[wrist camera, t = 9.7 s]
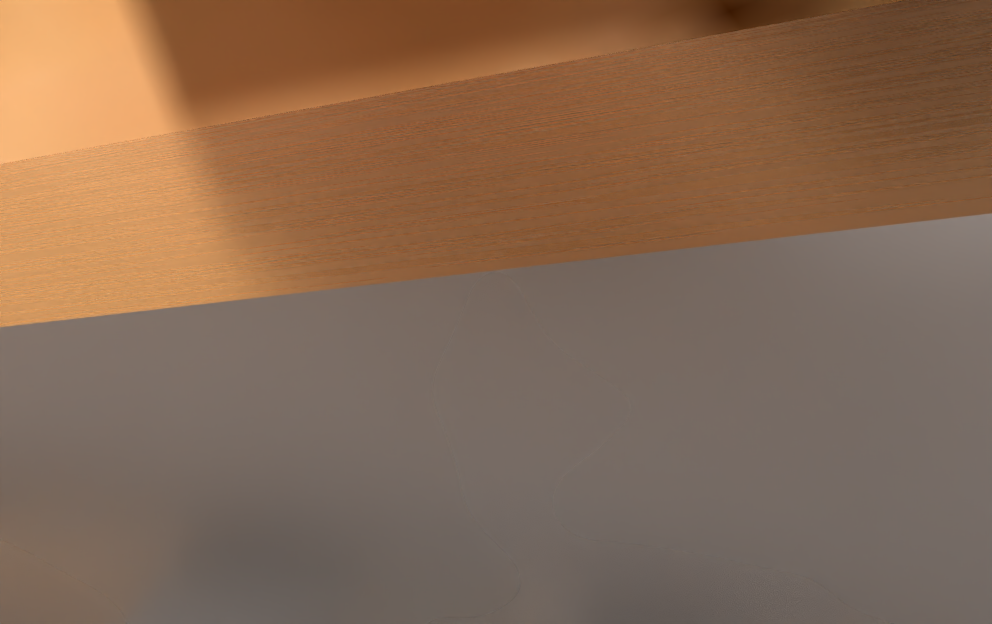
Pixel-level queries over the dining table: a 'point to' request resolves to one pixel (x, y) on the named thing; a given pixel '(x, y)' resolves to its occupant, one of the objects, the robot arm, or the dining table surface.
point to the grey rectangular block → (522, 347)
